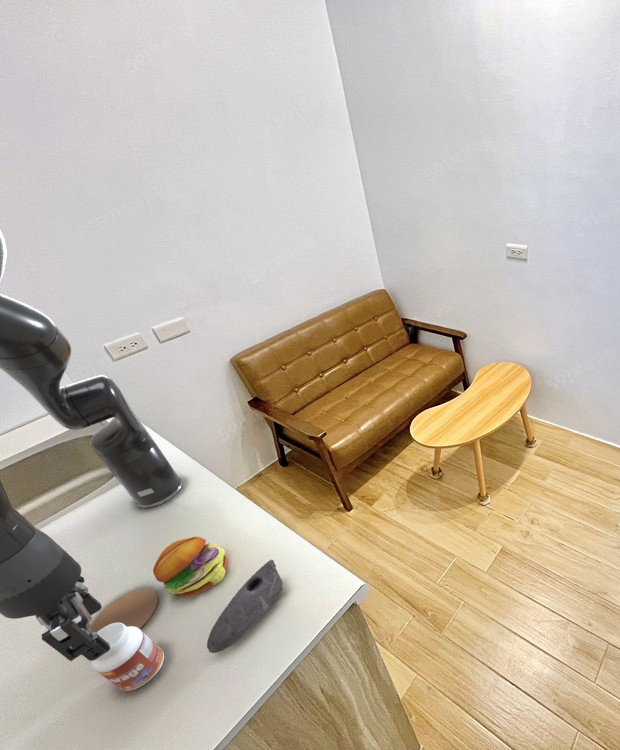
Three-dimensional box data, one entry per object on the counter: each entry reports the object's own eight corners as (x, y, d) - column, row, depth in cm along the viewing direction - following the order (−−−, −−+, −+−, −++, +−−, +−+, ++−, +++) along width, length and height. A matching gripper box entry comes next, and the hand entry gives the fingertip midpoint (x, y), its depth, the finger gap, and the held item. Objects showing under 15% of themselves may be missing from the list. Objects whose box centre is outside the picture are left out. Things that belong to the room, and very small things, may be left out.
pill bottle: (113, 700, 61) (69, 670, 55) (126, 659, 66) (86, 628, 60) (160, 680, 63) (123, 649, 57) (169, 642, 68) (135, 610, 62)
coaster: (86, 619, 72) (85, 618, 72) (152, 579, 78) (151, 578, 78) (93, 661, 66) (92, 660, 66) (164, 614, 72) (163, 613, 72)
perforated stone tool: (226, 666, 65) (208, 647, 61) (206, 652, 67) (187, 632, 63) (297, 583, 76) (286, 563, 73) (278, 573, 78) (266, 553, 74)
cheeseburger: (203, 606, 73) (167, 577, 68) (165, 603, 76) (128, 574, 71) (243, 556, 81) (213, 527, 76) (207, 555, 84) (176, 527, 80)
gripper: (66, 584, 47) (138, 646, 56) (57, 519, 55) (121, 582, 64) (-26, 636, 42) (68, 694, 51) (-22, 556, 51) (59, 618, 59)
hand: (97, 631), depth 58 cm, fingers open, 8 cm apart
